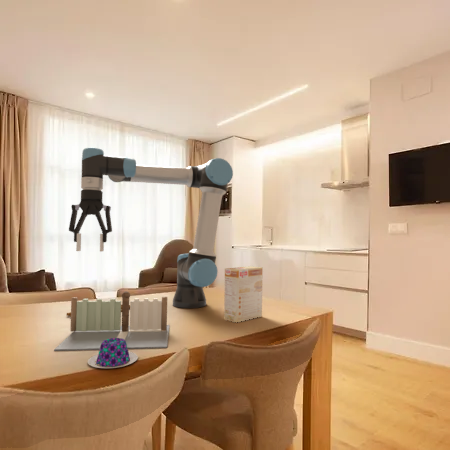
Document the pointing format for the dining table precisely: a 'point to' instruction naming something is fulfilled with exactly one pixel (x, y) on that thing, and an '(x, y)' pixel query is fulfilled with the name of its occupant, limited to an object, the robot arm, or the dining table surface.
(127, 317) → the hinge post
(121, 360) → the pudding
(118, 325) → the panel
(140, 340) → the card
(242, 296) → the coffeecake box
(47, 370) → the dining table surface
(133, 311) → the fixed panel
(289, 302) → the dining table surface
